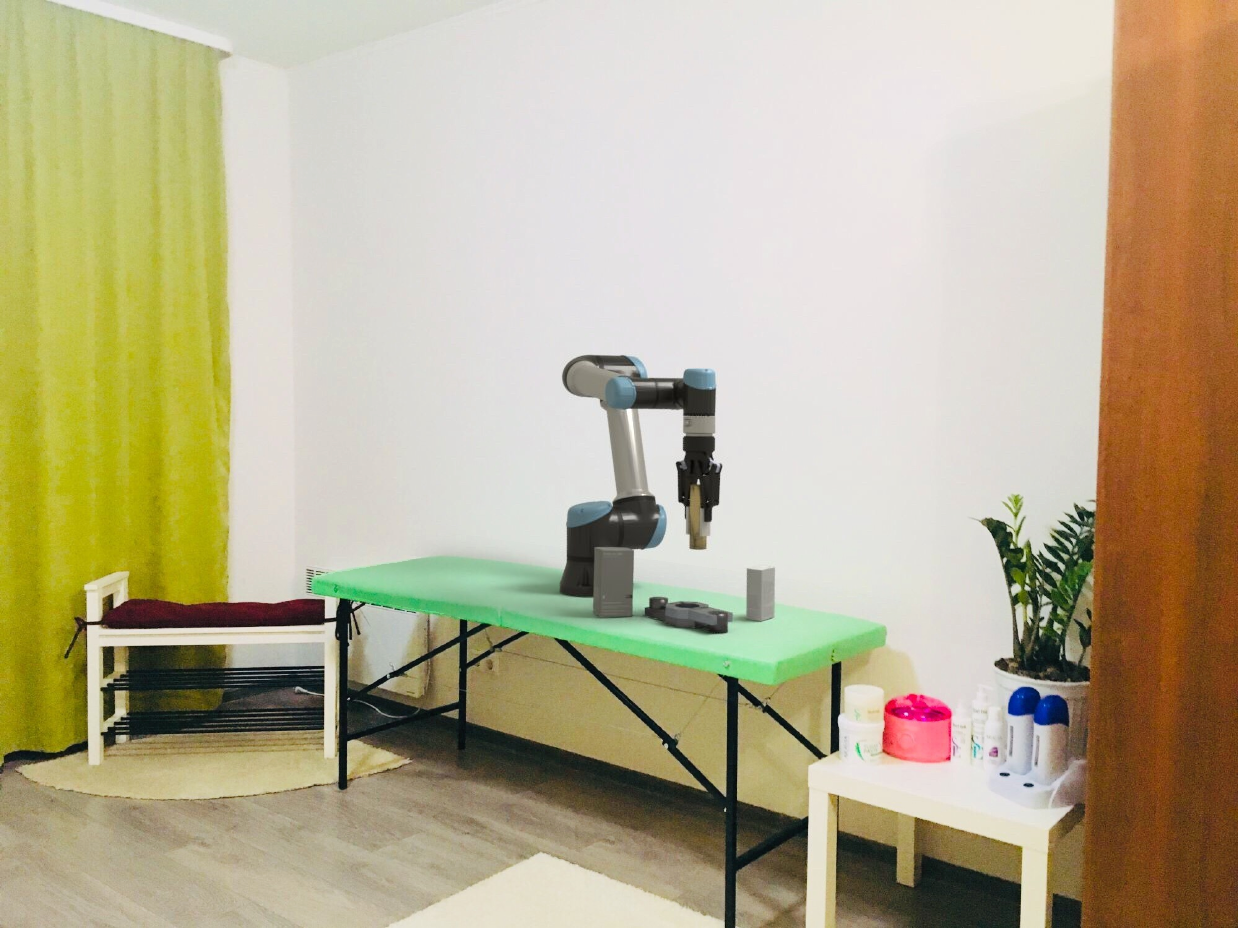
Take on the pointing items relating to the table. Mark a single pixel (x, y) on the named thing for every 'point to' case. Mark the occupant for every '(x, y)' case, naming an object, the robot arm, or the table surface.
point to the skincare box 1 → (613, 581)
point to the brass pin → (696, 519)
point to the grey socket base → (688, 614)
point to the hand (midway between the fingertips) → (697, 534)
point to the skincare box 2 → (760, 593)
